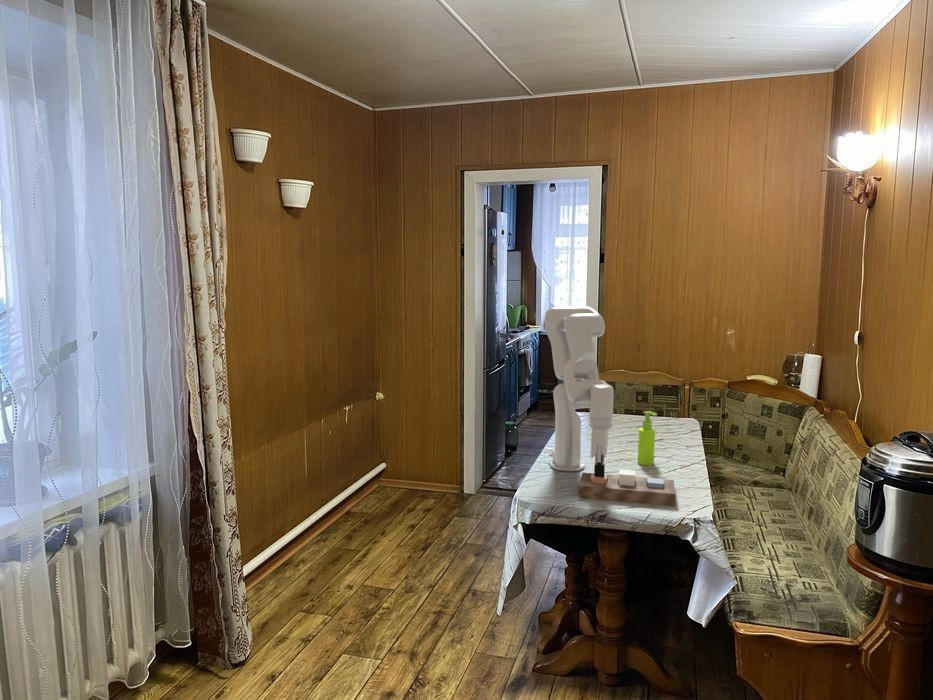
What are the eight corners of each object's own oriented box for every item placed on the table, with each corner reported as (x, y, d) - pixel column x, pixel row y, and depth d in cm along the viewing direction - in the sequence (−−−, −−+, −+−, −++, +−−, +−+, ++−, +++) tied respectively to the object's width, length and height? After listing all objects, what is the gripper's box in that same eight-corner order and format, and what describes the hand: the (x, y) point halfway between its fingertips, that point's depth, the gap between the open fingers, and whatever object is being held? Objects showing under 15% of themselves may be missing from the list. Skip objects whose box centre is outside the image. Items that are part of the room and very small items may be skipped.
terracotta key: (590, 489, 219) (590, 477, 219) (591, 484, 224) (591, 473, 224) (606, 490, 218) (606, 479, 218) (606, 486, 223) (607, 474, 222)
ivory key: (618, 486, 217) (619, 474, 216) (619, 481, 222) (619, 469, 221) (634, 487, 216) (635, 475, 215) (634, 482, 220) (635, 470, 220)
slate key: (647, 494, 215) (647, 482, 214) (647, 489, 220) (647, 477, 219) (663, 495, 214) (663, 483, 213) (662, 490, 218) (663, 479, 218)
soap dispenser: (649, 466, 249) (651, 414, 246) (634, 462, 254) (636, 411, 252) (659, 464, 252) (661, 412, 250) (644, 459, 258) (646, 409, 255)
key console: (578, 497, 216) (578, 485, 216) (582, 483, 230) (582, 472, 229) (675, 506, 209) (675, 494, 208) (673, 491, 222) (673, 480, 222)
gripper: (590, 416, 226) (589, 468, 229) (587, 426, 212) (585, 482, 214) (613, 417, 224) (611, 470, 227) (611, 428, 210) (609, 484, 212)
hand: (599, 476), depth 221 cm, fingers closed
